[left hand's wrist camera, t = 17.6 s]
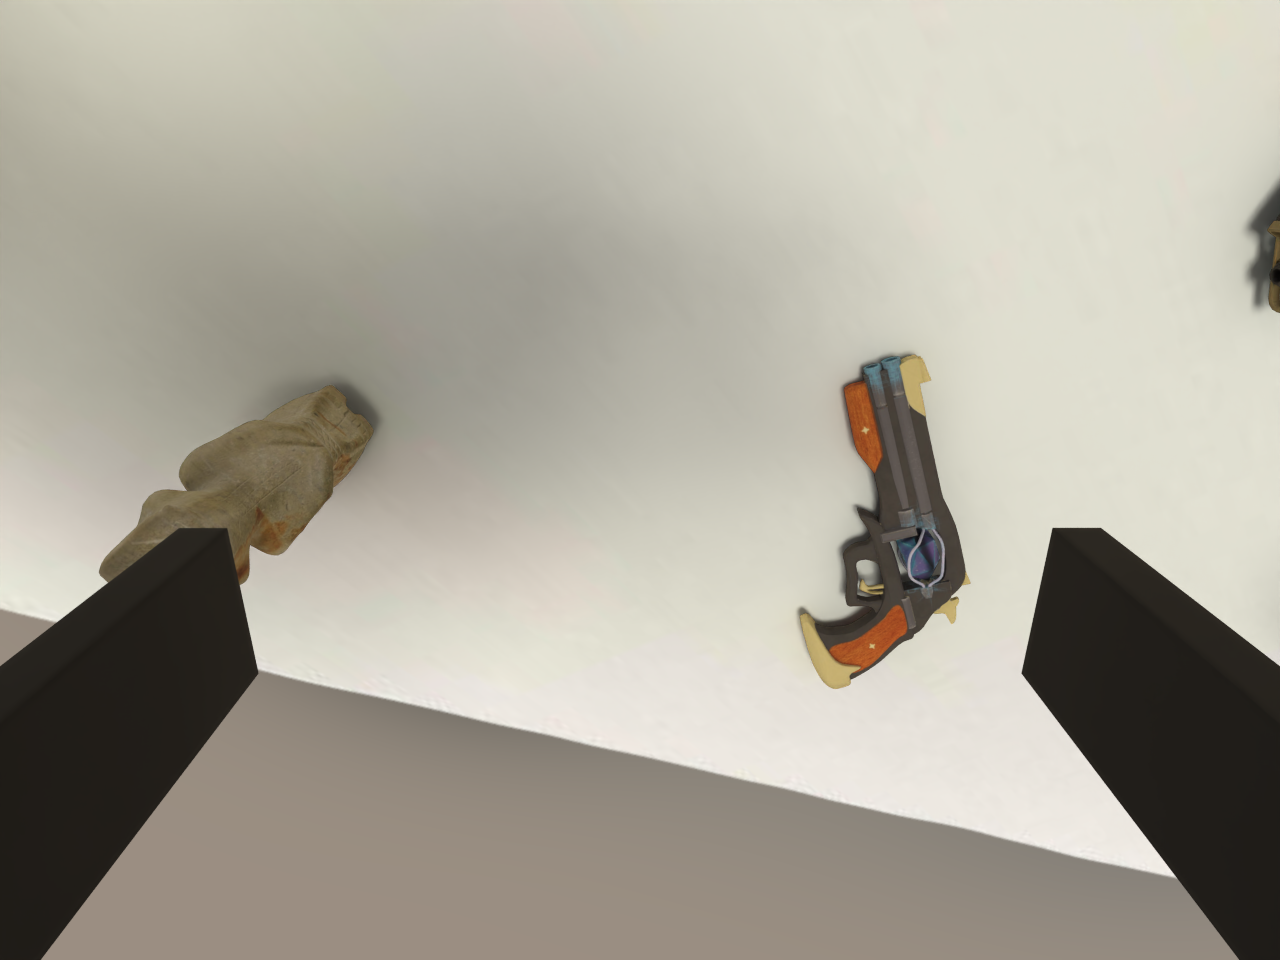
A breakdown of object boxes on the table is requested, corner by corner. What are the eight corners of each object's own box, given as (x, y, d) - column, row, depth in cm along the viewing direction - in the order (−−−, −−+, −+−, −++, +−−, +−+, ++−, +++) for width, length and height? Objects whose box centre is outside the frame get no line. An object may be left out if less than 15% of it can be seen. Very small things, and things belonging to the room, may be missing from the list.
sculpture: (237, 429, 43) (45, 551, 29) (333, 356, 42) (179, 448, 28) (310, 508, 45) (162, 659, 31) (405, 441, 44) (295, 568, 30)
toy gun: (821, 702, 47) (994, 670, 45) (737, 407, 42) (929, 354, 39) (818, 676, 50) (981, 645, 47) (738, 395, 44) (918, 345, 42)
